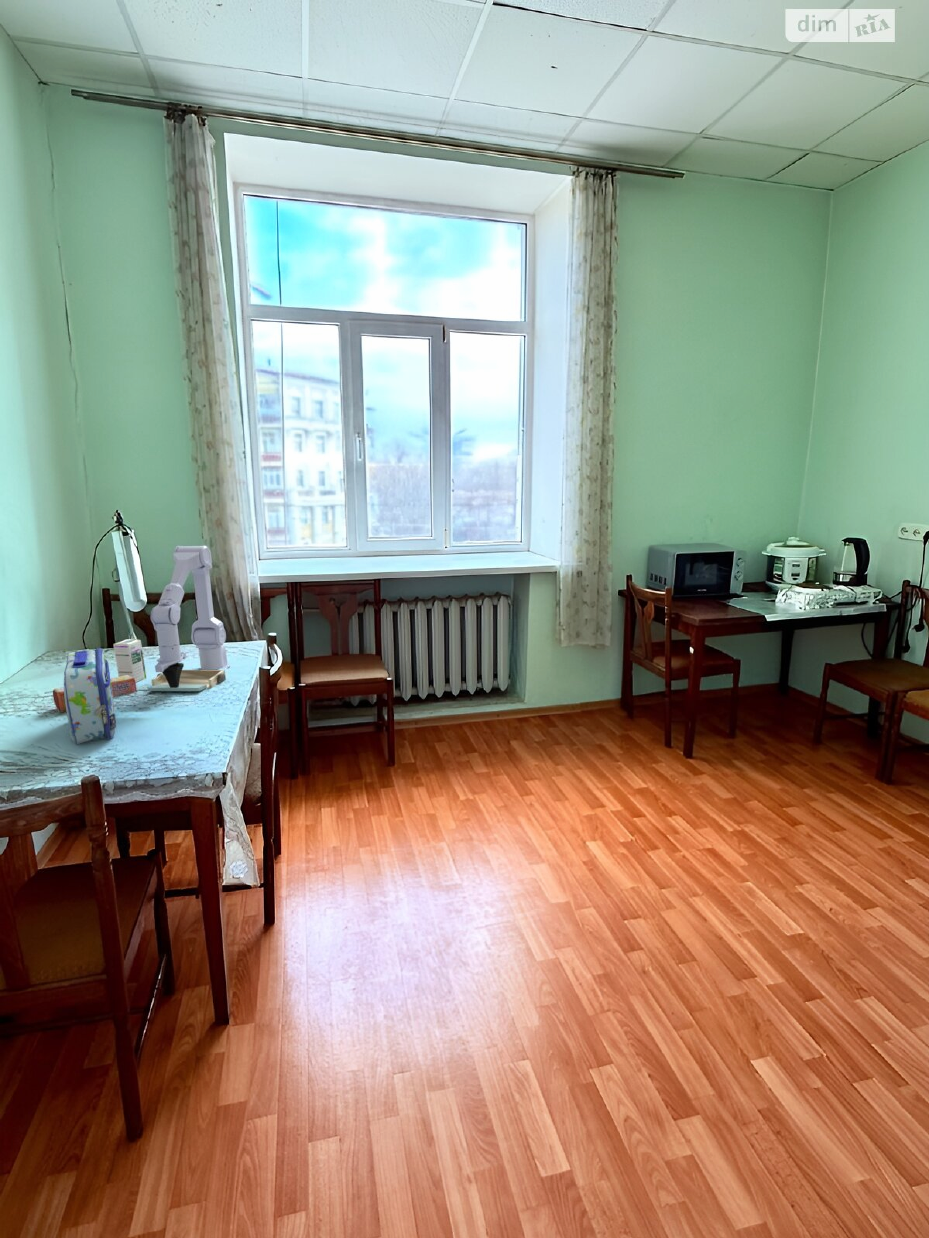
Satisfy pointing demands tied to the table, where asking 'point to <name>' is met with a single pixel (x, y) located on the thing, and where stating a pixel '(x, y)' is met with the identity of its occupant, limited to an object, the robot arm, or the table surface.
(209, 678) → the beige tray
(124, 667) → the syrup box
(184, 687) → the tailgate
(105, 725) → the lunch box
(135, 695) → the table surface
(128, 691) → the snack package
